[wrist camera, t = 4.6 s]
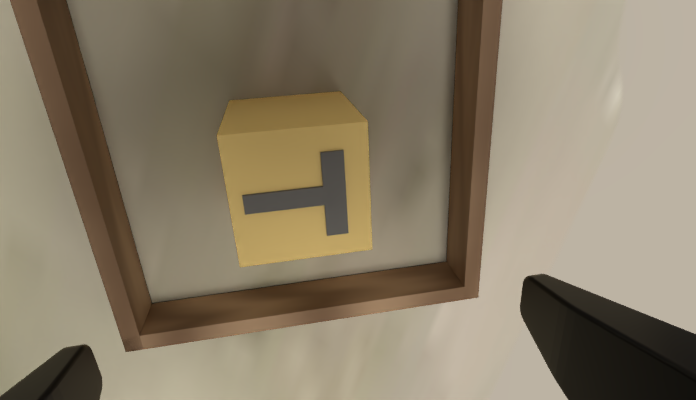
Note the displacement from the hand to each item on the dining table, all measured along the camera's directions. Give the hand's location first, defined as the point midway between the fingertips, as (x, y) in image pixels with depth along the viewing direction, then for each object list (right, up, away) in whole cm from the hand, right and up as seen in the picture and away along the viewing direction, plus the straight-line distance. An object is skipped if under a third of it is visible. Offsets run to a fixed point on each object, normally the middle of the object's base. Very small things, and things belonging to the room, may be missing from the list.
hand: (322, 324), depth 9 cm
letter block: (-2, +5, +12) cm, 13 cm away
